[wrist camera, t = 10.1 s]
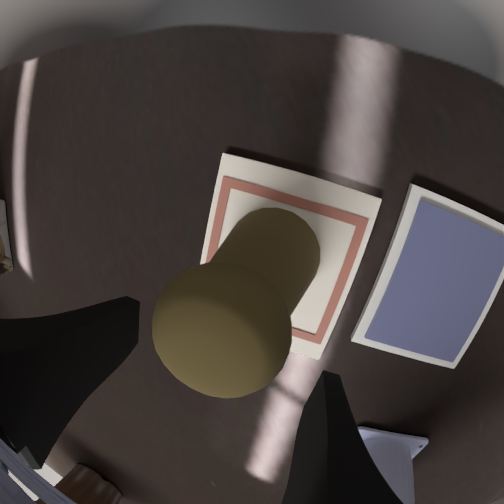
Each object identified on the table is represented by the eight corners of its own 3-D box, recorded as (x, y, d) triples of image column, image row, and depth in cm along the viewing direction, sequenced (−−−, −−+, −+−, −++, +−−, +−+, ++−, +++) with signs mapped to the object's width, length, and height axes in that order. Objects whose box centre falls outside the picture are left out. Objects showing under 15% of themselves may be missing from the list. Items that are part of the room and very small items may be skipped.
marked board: (319, 356, 22) (318, 360, 21) (194, 312, 23) (190, 315, 23) (380, 198, 17) (382, 199, 17) (225, 153, 19) (222, 153, 18)
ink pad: (451, 363, 19) (454, 371, 18) (351, 335, 20) (351, 343, 19) (516, 231, 15) (523, 235, 14) (410, 183, 16) (414, 184, 15)
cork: (217, 216, 20) (102, 281, 10) (311, 199, 18) (274, 259, 8) (239, 301, 21) (161, 413, 11) (327, 292, 19) (307, 423, 9)
